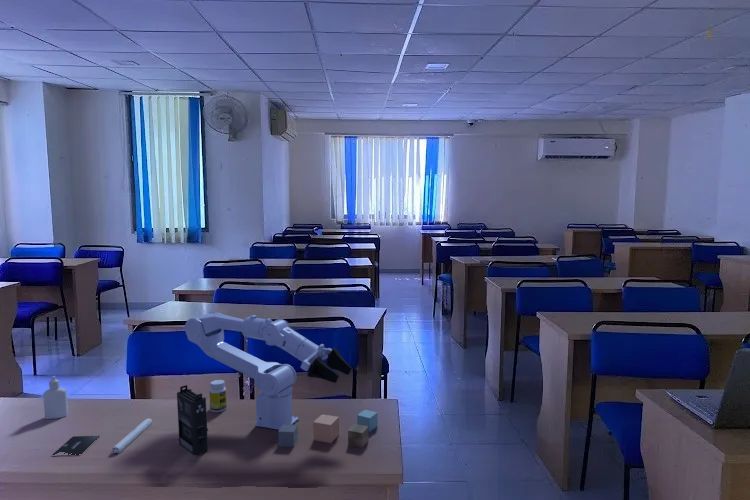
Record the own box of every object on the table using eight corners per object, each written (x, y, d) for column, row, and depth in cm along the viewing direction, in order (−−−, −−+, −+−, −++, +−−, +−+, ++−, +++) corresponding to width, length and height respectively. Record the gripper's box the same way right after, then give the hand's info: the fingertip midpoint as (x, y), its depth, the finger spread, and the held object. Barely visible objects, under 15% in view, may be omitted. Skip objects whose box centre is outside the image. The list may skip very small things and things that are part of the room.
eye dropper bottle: (53, 412, 152) (50, 373, 150) (71, 413, 151) (68, 374, 150) (42, 419, 147) (38, 378, 146) (59, 420, 147) (56, 379, 145)
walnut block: (348, 445, 131) (347, 430, 131) (354, 438, 135) (354, 423, 135) (362, 448, 130) (362, 433, 130) (368, 441, 134) (368, 426, 133)
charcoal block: (278, 446, 131) (278, 431, 131) (282, 439, 135) (282, 424, 135) (294, 447, 131) (293, 432, 130) (297, 439, 135) (297, 424, 134)
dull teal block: (357, 429, 141) (357, 414, 140) (365, 423, 144) (364, 409, 144) (369, 432, 139) (369, 418, 138) (377, 426, 142) (377, 412, 142)
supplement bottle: (221, 413, 151) (220, 385, 150) (207, 412, 152) (205, 384, 151) (229, 406, 155) (228, 379, 155) (215, 405, 156) (214, 378, 155)
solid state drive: (51, 458, 127) (51, 455, 126) (72, 438, 136) (72, 436, 136) (80, 457, 127) (80, 454, 127) (99, 437, 137) (99, 435, 137)
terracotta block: (313, 440, 134) (313, 422, 134) (322, 432, 139) (322, 414, 138) (331, 443, 133) (330, 424, 132) (339, 434, 137) (339, 416, 137)
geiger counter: (214, 450, 129) (211, 392, 127) (196, 457, 126) (194, 398, 124) (194, 437, 136) (192, 382, 134) (177, 443, 133) (175, 386, 131)
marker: (147, 422, 146) (147, 414, 145) (154, 422, 145) (154, 414, 145) (111, 454, 128) (111, 445, 127) (119, 455, 128) (119, 446, 127)
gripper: (293, 341, 131) (337, 369, 127) (320, 330, 144) (361, 355, 140) (283, 365, 132) (326, 393, 128) (311, 352, 146) (351, 377, 141)
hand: (343, 375), depth 134 cm, fingers open, 7 cm apart
